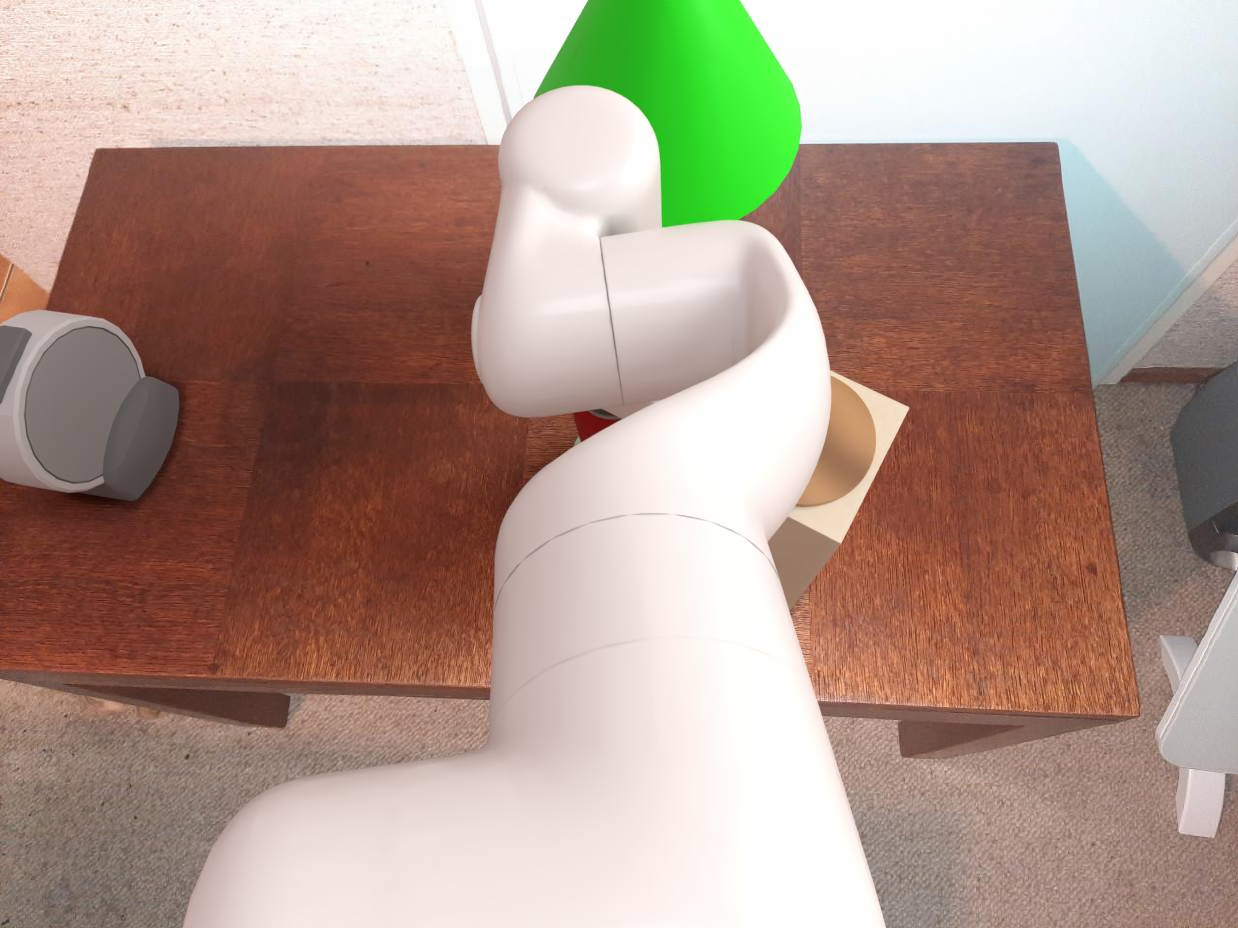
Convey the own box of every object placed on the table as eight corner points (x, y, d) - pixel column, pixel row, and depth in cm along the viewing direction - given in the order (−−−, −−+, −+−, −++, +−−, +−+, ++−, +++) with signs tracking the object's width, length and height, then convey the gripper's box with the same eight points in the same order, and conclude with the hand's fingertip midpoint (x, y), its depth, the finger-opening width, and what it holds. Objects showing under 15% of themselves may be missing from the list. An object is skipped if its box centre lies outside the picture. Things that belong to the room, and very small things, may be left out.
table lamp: (800, 349, 86) (925, -55, 43) (627, 440, 84) (581, 108, 41) (701, 206, 92) (725, -269, 50) (537, 287, 90) (417, -137, 48)
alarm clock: (108, 360, 90) (-25, 265, 73) (197, 373, 89) (84, 280, 72) (48, 506, 85) (-110, 440, 68) (143, 521, 84) (6, 458, 67)
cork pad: (836, 532, 51) (837, 531, 51) (702, 464, 53) (703, 462, 52) (899, 410, 53) (900, 407, 53) (768, 349, 55) (769, 346, 55)
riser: (783, 619, 77) (840, 543, 51) (685, 566, 79) (691, 467, 53) (831, 525, 80) (909, 407, 53) (735, 476, 82) (765, 339, 55)
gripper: (438, 275, 50) (497, 401, 67) (700, 403, 46) (693, 503, 63) (506, 181, 52) (547, 327, 69) (763, 296, 48) (740, 421, 65)
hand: (617, 410), depth 66 cm, fingers closed on beverage can, 6 cm apart
